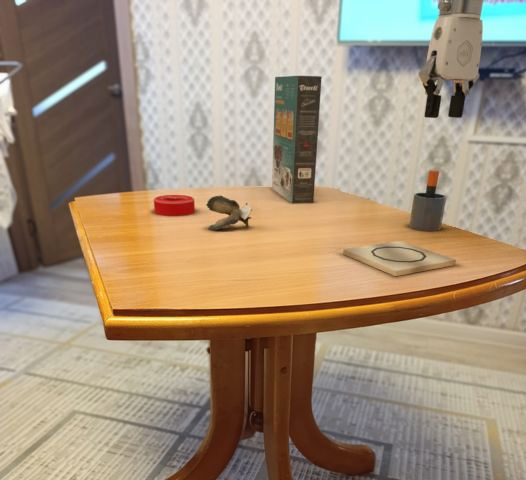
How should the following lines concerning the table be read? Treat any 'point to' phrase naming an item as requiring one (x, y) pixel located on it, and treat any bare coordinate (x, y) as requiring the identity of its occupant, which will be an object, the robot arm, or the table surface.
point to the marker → (432, 184)
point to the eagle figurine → (228, 212)
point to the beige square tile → (399, 258)
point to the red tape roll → (174, 205)
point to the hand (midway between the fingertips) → (443, 116)
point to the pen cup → (427, 212)
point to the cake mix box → (295, 136)
